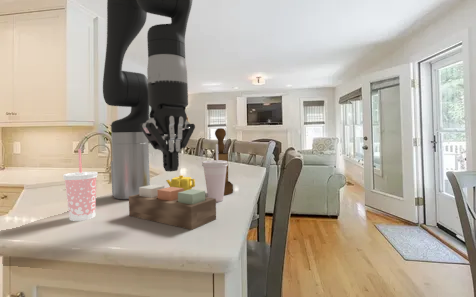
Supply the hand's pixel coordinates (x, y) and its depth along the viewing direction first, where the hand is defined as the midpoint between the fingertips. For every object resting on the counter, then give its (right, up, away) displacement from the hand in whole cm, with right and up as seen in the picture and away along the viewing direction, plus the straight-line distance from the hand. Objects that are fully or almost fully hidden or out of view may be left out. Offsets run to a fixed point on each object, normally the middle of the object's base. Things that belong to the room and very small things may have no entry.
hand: (171, 170), depth 56 cm
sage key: (+4, -7, -2) cm, 8 cm away
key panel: (0, -9, +1) cm, 9 cm away
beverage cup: (-18, -10, +2) cm, 21 cm away
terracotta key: (0, -7, +1) cm, 7 cm away
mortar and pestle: (+9, -8, +24) cm, 26 cm away
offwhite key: (-5, -7, +4) cm, 9 cm away
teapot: (-3, -9, +22) cm, 24 cm away
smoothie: (+8, -9, +15) cm, 19 cm away
